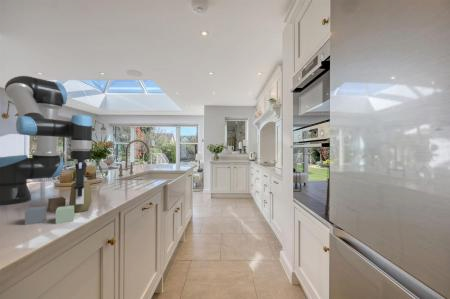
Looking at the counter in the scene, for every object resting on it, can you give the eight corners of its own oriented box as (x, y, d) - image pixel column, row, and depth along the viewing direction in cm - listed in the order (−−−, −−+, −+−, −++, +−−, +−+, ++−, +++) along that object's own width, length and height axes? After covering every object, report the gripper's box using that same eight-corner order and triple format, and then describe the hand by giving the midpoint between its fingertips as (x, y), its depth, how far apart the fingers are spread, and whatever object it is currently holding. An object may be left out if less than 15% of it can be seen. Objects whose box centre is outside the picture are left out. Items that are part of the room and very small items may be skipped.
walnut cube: (48, 210, 92) (48, 198, 92) (62, 207, 96) (62, 196, 96) (51, 212, 89) (51, 200, 89) (65, 209, 92) (65, 198, 93)
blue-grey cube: (28, 221, 77) (28, 207, 77) (46, 218, 80) (46, 205, 80) (24, 225, 73) (25, 211, 73) (43, 222, 76) (43, 209, 76)
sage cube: (57, 220, 79) (58, 207, 79) (74, 218, 81) (74, 205, 81) (55, 224, 74) (55, 210, 74) (72, 221, 77) (73, 208, 77)
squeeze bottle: (68, 214, 85) (69, 170, 85) (69, 209, 92) (69, 169, 92) (91, 211, 90) (92, 170, 90) (90, 207, 97) (91, 168, 97)
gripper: (73, 150, 98) (72, 197, 98) (67, 150, 80) (66, 208, 80) (91, 150, 102) (91, 195, 102) (91, 150, 84) (90, 205, 84)
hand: (80, 201), depth 91 cm, fingers open, 9 cm apart
